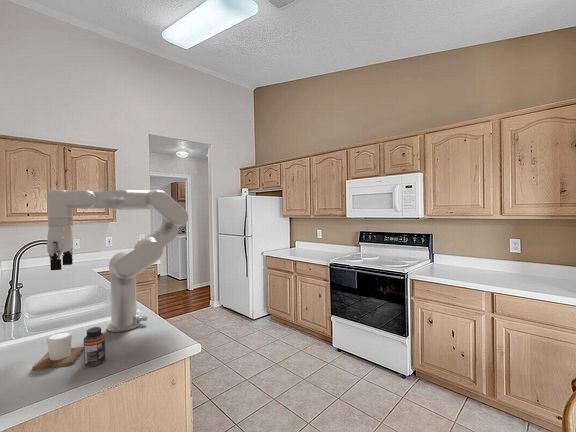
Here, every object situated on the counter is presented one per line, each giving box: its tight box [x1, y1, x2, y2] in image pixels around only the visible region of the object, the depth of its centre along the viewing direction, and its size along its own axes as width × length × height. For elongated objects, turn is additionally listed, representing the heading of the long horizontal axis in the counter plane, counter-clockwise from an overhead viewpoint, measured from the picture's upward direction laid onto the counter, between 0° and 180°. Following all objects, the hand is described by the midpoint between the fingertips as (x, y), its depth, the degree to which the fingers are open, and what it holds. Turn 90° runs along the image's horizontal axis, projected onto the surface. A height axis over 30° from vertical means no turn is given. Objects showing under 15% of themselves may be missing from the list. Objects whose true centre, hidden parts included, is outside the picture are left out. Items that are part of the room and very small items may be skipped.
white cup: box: [46, 331, 73, 360], centre depth 100 cm, size 7×7×7 cm
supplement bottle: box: [82, 326, 106, 368], centre depth 98 cm, size 6×6×11 cm
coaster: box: [32, 346, 84, 371], centre depth 101 cm, size 11×11×1 cm
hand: (62, 267), depth 114 cm, fingers open, 9 cm apart
